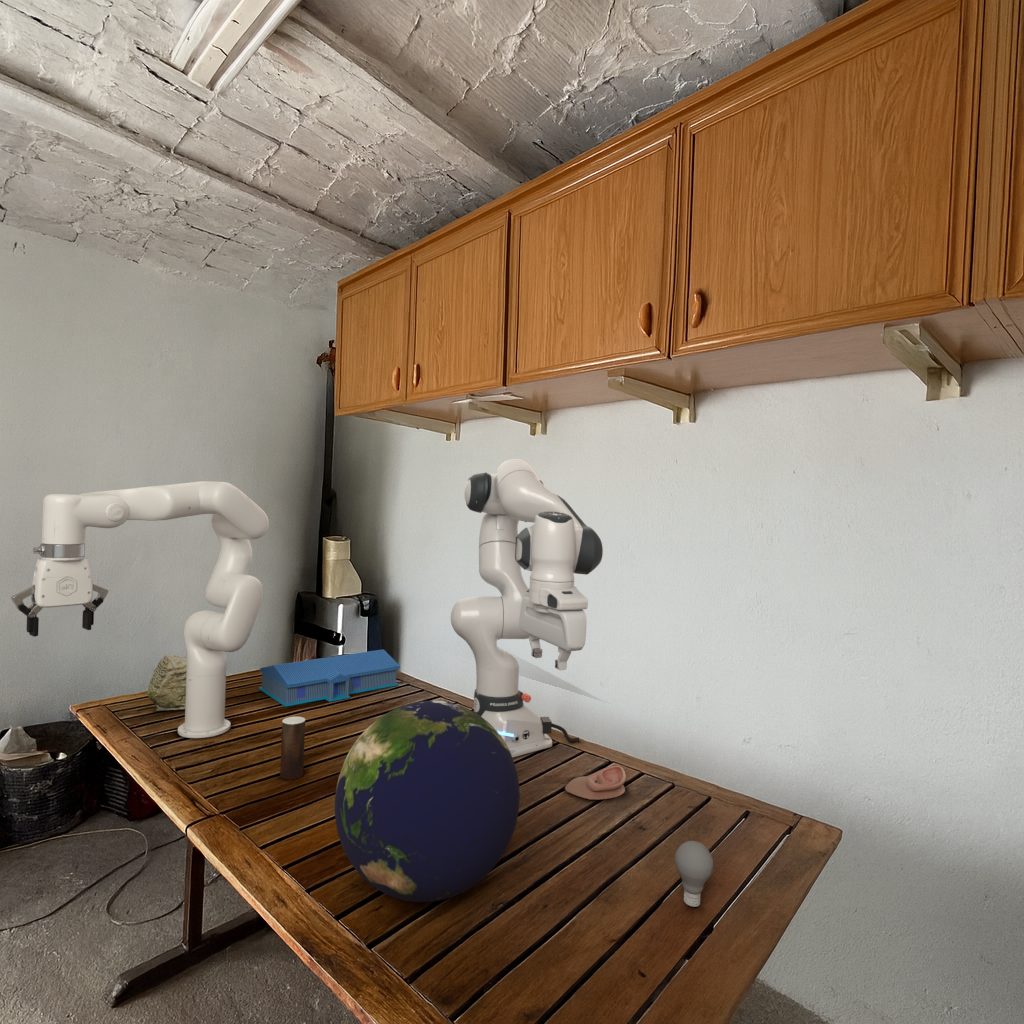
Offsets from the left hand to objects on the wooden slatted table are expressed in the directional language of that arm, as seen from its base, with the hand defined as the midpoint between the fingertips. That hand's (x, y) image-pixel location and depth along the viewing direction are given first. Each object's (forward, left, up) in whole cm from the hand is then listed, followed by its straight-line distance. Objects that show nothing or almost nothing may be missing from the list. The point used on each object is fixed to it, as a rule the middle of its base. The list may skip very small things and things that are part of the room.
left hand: (60, 632), depth 135 cm
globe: (+72, +51, -32) cm, 94 cm away
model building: (-38, +73, -32) cm, 88 cm away
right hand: (+65, +81, 0) cm, 104 cm away
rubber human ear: (+59, +100, -32) cm, 121 cm away
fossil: (-40, +29, -32) cm, 59 cm away
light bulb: (+98, +86, -32) cm, 135 cm away
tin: (+20, +44, -32) cm, 58 cm away
